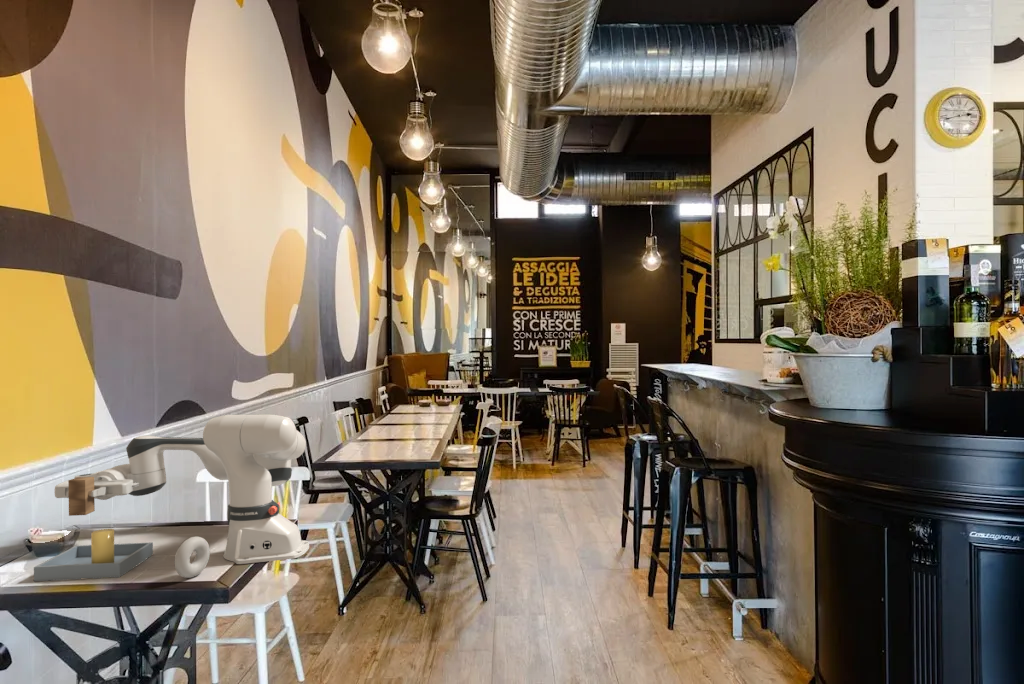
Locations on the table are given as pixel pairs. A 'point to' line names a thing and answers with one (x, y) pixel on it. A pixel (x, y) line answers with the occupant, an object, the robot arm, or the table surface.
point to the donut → (185, 552)
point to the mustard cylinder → (102, 546)
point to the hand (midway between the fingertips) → (79, 494)
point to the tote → (79, 564)
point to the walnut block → (81, 496)
